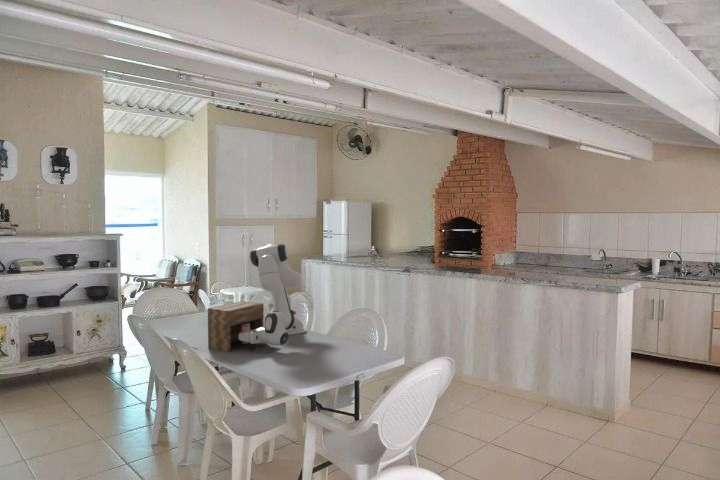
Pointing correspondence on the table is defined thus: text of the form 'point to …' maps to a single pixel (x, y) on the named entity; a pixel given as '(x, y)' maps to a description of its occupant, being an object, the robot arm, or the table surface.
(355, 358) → the table surface
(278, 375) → the table surface
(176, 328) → the table surface
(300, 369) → the table surface
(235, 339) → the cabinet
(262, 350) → the mat
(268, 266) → the robot arm
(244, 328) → the canister
